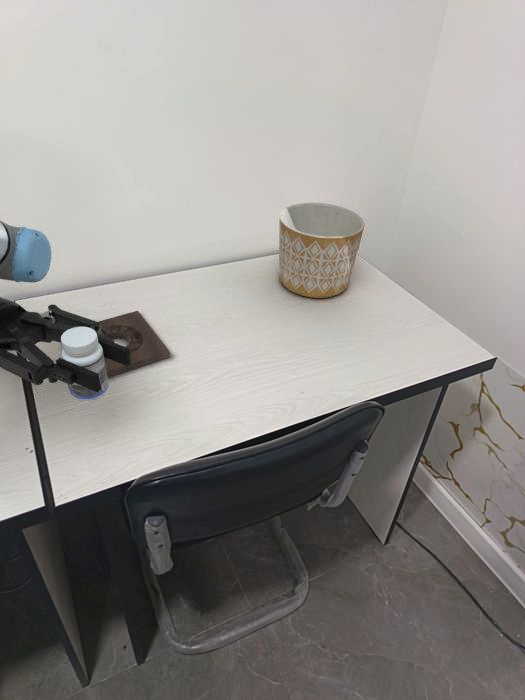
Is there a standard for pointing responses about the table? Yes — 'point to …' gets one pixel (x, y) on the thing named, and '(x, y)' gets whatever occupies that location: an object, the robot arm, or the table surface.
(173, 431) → the table surface
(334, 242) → the planter
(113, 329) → the socket plate
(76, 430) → the table surface
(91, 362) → the pill bottle
